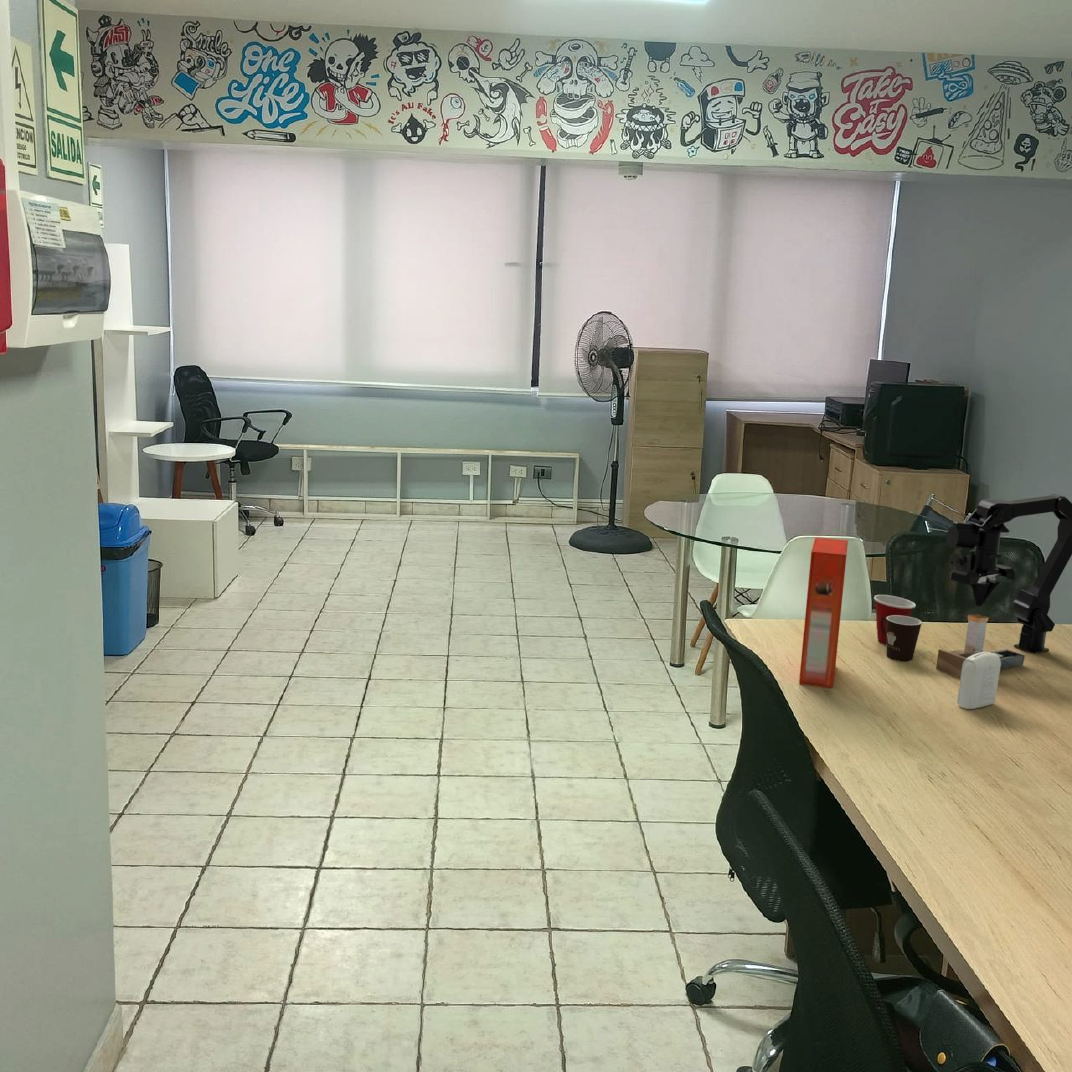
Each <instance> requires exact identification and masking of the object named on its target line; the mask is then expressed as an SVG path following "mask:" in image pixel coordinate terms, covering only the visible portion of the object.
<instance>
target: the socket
mask: <svg viewBox="0 0 1072 1072" xmlns="http://www.w3.org/2000/svg"><path fill="white" fill-rule="evenodd" d="M966 659H967V658H965V657H964V649H961V648H960V649H957V650H956V649H955V650H950V651H949V650H946V649H943V648H939V649H938V651H937V658H936V665H935V669H936V670H939V671H942V672H943V673H947V674H949V675H952V676H954V677H957V678H960V679H961V672H962V665H963V662H964V661H965V660H966Z"/></svg>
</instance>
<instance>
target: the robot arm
mask: <svg viewBox="0 0 1072 1072" xmlns="http://www.w3.org/2000/svg"><path fill="white" fill-rule="evenodd" d="M1047 513H1053V515H1054V517H1056V518H1057V520H1059V523H1058V525H1057V539H1056V540H1055V543H1054V545H1053V546H1052V548H1051V550H1050V552H1049V554H1048V556H1047V557H1046V559H1045V562H1044V563H1043V564H1042V567H1041V569H1040V571H1039V572H1038V574H1037V577H1036V579H1035V580H1034V582H1033V584H1032V585H1031V587H1029V588H1028V589H1026V590H1024V589H1023V588H1022V589H1020V590H1019V591H1018V593H1017V596H1016V598H1015V600H1014V601H1012V603H1014V604H1013V607H1012V610H1013V613H1014V615H1015V616H1016V620H1017V623H1019V624H1021V625H1022V626H1021V630H1020V634H1019V642H1018V643H1016V644H1013V647H1014V648H1017V649H1020V650H1023V651H1025V652H1026V651H1027V652H1029V653H1032V654H1039V653H1044V652H1048V651H1050V648H1047V647H1045V643H1046V638H1047V637H1046V636H1047V633H1049V632H1053V630H1054V628H1055V626H1056V624H1055V622H1054V621H1053V620H1052V619H1051V617H1050V616H1049V615H1048V614H1049V612H1050V609H1051V595H1052V593H1053V590H1054V589H1055V588H1056V585H1057V583H1058V582H1059V580H1060V578H1061V576H1062V574H1063V572H1064V570H1065V569H1066V566H1067V565H1068V563H1069V561H1070V559H1071V557H1072V501H1070V500H1069V499H1068V498H1067V497H1066V496H1063V495H1059V494H1057V493H1052V494H1049V495H1043V496H1036V497H1030V498H1022V499H1014V500H1004V499H993V498H992V499H989V498H984V499H982V500H980V501H979V503H978V504H977V506H976V508H975V510H974V511H973V512H972V513H971V514H970V516H968V518H967V519H966V520H965V522H960V521H953V522H952V525H951V526H950V527H949V528H948V530H947V532H946V534H945V536H946V538H945V540H946V543H947V546H948V547H949V548H950V549H972V550H970V551H969V553H968V555H963V556H962V554H961V553H952V554H951V556H950V561H949V564H950V566H952V567H954V569H953V570H952V571H951V572H950V577H949V578H950V579H949V580H951V581H953V582H957V583H960V584H964V585H970V586H971V590H972V593H973V598H974V603H975V606H977V607H982V606H983V604H984V603H985V602H986V600H987V599H988V597H989V596H990V594H991V593H993V591H994V589H995V588H996V587H997V586H998V585H1000V581H999V580H996V579H997V578H996V577H1004V578H1005V580H1007V581H1009V580H1015V576H1016V571H1015V570H1014V568H1013V567H1009V566H1006V565H1002V564H999V563H998V559H999V558H1000V559H1001V558H1002V553H1000V552H999V548H1000V542H1001V541H1000V540H1001V535H1002V533H1007V534H1008V533H1009V532H1010V529H1008V528H1007V527H1006V525H1005V523H1009V522H1010V521H1012V520H1014V519H1016V518H1019V517H1026V516H1033V515H1041V514H1047ZM997 563H998V564H997Z"/></svg>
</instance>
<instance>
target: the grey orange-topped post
mask: <svg viewBox="0 0 1072 1072" xmlns="http://www.w3.org/2000/svg"><path fill="white" fill-rule="evenodd" d="M967 620H968V622H967V629H966V634H965V635H966V636H965V644H964V649H963V650H964V657H965V658H968V657H970V656H972V655H974V654H977V653H980V652H984V645H985V637H986V629H987V622H989V616H986V615H981V614H979V613H975V614H973V613H972V614H968V615H967ZM992 652H993V654H996V655H998V656H999V658H1003V657H1004V656H1003V655H1000V654H997V653H994V652H995V651H992Z"/></svg>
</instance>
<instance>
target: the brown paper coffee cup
mask: <svg viewBox="0 0 1072 1072" xmlns="http://www.w3.org/2000/svg"><path fill="white" fill-rule="evenodd" d="M884 620H886V633H885V631H884V629H883V621H884ZM922 623H923V622H922V620H920V619H919V618H916V617H912V616H909V617H908V616H900V615H892V616H888V617H886V618H883V619H881V622H880V627H881V630H882V632H883V634H884V635H885V637H886V645H885V647H886V653H885V654H886V658H888V659H890V660H892V661H897V662H905V663H906V662H911V661H913V659H914V654H915V652H916V651H915V650H916V646H917V642H918V640H919V635H920V631H921V628H922Z"/></svg>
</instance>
